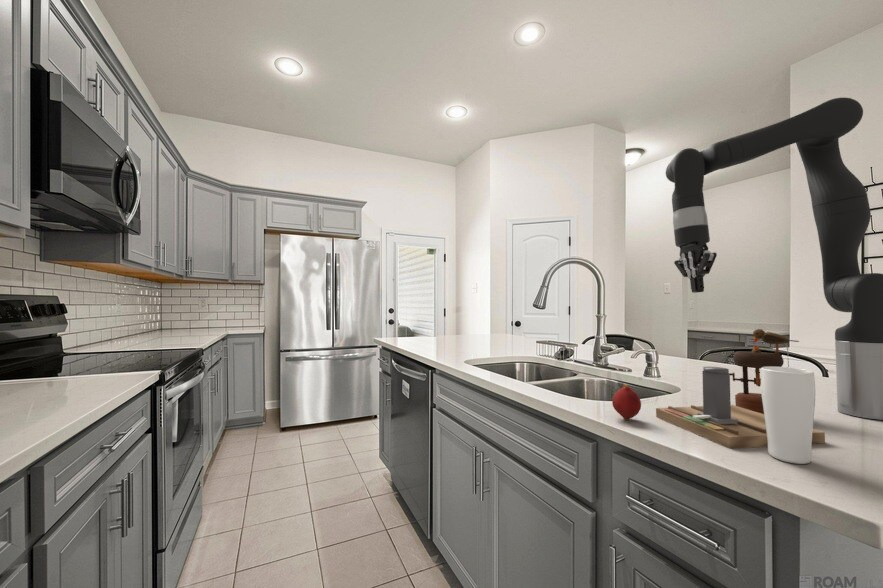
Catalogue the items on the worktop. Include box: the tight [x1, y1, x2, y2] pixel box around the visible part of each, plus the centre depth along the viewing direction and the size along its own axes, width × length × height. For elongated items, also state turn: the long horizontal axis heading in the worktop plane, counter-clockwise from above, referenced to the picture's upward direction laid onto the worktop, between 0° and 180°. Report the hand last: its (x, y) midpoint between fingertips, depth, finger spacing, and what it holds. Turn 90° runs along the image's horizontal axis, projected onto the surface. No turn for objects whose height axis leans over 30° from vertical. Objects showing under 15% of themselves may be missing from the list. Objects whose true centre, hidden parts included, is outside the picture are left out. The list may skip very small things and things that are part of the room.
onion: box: [611, 383, 642, 421], centre depth 84 cm, size 6×6×8 cm
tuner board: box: [655, 404, 826, 449], centre depth 77 cm, size 20×19×3 cm
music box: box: [729, 328, 800, 414], centre depth 89 cm, size 15×11×20 cm
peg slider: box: [692, 366, 738, 424], centre depth 76 cm, size 7×5×11 cm
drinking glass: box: [760, 366, 816, 465], centre depth 62 cm, size 7×7×15 cm
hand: (697, 292), depth 96 cm, fingers closed
